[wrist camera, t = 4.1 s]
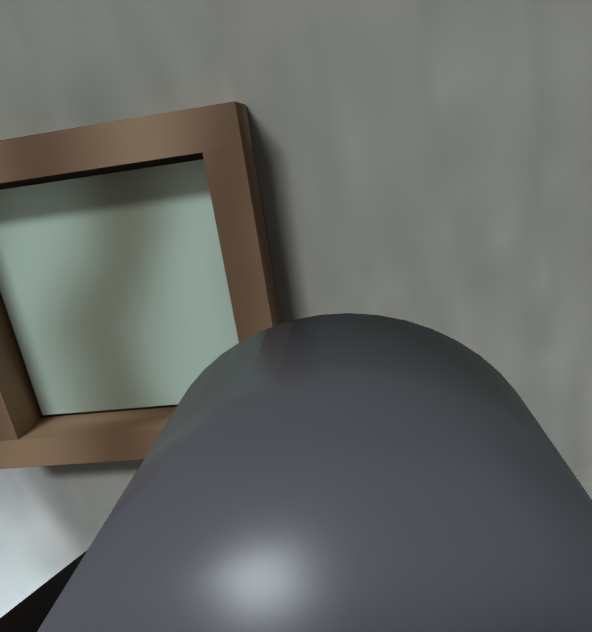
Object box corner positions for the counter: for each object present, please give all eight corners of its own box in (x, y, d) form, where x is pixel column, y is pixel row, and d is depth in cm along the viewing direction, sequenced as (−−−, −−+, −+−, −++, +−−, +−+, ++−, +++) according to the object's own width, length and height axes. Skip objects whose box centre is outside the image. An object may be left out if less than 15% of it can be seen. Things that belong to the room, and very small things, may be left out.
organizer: (245, 104, 16) (235, 101, 14) (297, 425, 19) (293, 449, 18) (-274, 189, 19) (-329, 194, 17) (-145, 457, 22) (-180, 480, 21)
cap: (545, 287, 7) (957, 582, 2) (547, 628, 9) (774, 1168, 4) (118, 339, 8) (-216, 638, 3) (204, 642, 9) (76, 1108, 5)
